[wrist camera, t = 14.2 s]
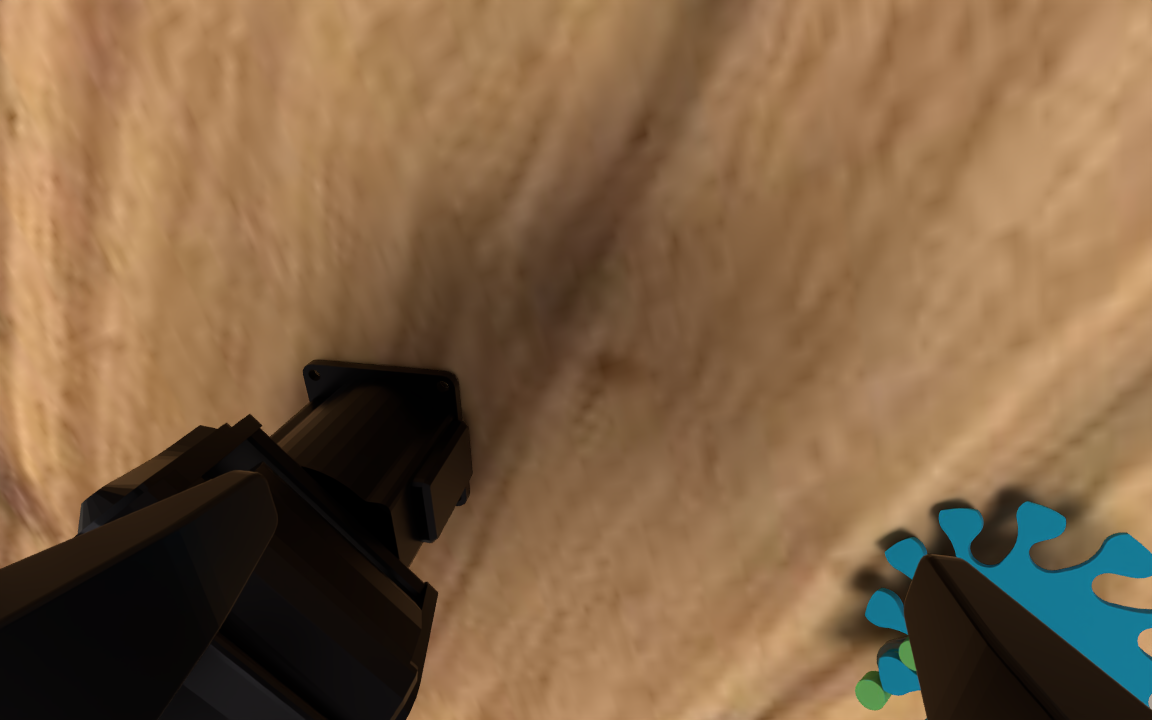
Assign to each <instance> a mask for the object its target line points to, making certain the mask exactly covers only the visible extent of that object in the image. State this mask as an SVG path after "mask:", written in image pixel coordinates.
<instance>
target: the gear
mask: <svg viewBox="0 0 1152 720" xmlns="http://www.w3.org/2000/svg"><path fill="white" fill-rule="evenodd" d="M1016 518H1017V523H1018V537H1017V541H1016V544H1015V546H1014V548H1013V549H1012V550H1011V552H1010V553H1009V554H1008V555H1007V556H1006V557H1005V558H1004V559H1003V560H1002V561H1001V562H1000V563H998V564H996V565H986V564H983V563H981V562H979V561H978V560H976V559H975V558H974V557H973V555H972V553H971V550H970V545H971V542H972V541H973V539H974V538H975V537H976V536H977V535H978V534H979V533H980V532H981V530H982V528H983V523H984V521H983V517H982V515H981V513H980V512H979V511H978V510H976V509H971V508H952V509H946V510H941V511H940V514H939V523H940V526H941V528H942V529H943V530H944V532H945V533H946V534H947V535H948V537H949V539H950V540H951V542H952V544H953V547H954V549H955V553H956V557H958V558H961V559H963V560H965V561H967V562H968V563H969V564H971V565H972V566H973V567H974V568H976V569H977V570H978V571H979V572H981V573H982V574H983V575H984V576H986V577H987V578H988V579H989V580H991V581H992V582H993V583H994V584H996V585H997V586H998V587H999V588H1001V589H1002V590H1003V591H1004V592H1006V593H1007V594H1008V595H1009V596H1011V597H1012V598H1013V599H1014V600H1016V601H1017V602H1018V603H1019V604H1021V605H1022V606H1023V607H1024V608H1026V609H1027V610H1028V611H1029V612H1031V613H1032V614H1033V615H1034V616H1036V617H1037V618H1038V619H1039V620H1041V621H1042V622H1043V623H1044V624H1046V625H1047V626H1048V627H1049V628H1051V629H1052V630H1053V631H1054V632H1056V633H1057V634H1058V635H1059V636H1061V637H1062V638H1063V639H1064V640H1066V641H1067V642H1068V643H1069V644H1071V645H1072V646H1073V647H1074V648H1076V649H1077V650H1078V651H1079V652H1080V653H1082V654H1083V655H1084V656H1085V657H1087V658H1088V659H1089V660H1090V661H1092V662H1093V663H1094V664H1095V665H1097V666H1098V667H1099V668H1100V669H1102V670H1103V671H1104V672H1105V673H1107V674H1108V675H1109V676H1110V677H1112V678H1113V679H1114V680H1115V681H1117V682H1118V683H1119V684H1120V685H1122V686H1123V687H1124V688H1125V689H1127V690H1128V691H1129V692H1130V693H1132V694H1133V695H1134V696H1135V697H1137V698H1138V699H1139V700H1140V701H1142V702H1143V703H1144V704H1145V705H1147V706H1148V707H1149V705H1148V700H1149V697H1150V695H1151V694H1152V657H1151V656H1150V655H1148V654H1147V653H1145V652H1144V651H1143V650H1142V649H1141V648H1140V647H1139V646H1138V642H1137V640H1138V636H1139V634H1140V633H1141V632H1142V631H1144V630H1146V629H1149V628H1152V609H1137V608H1132V607H1126V606H1122V605H1118V604H1114V603H1110V602H1107V601H1104V600H1102V599H1101V598H1099V597H1098V596H1097V595H1096V594H1095V593H1094V592H1093V591H1092V581H1093V579H1094V578H1095V577H1096V576H1098V575H1100V574H1104V573H1113V574H1118V575H1122V576H1127V577H1132V578H1146V577H1150V576H1152V554H1151V553H1150V552H1149V551H1148V550H1147V549H1146V548H1145V547H1144V546H1143V545H1142V544H1141V543H1139V542H1138V541H1137V540H1136V539H1134V538H1133V537H1132V536H1130V535H1129V534H1128V533H1116V534H1112V535H1111V536H1109V537H1107V538H1106V539H1105V540H1104V542H1103V544H1102V546H1101V548H1100V549H1099V550H1098V551H1097V553H1096V554H1095V555H1094V556H1092V557H1091V558H1090V559H1089V560H1087V561H1085V562H1083V563H1081V564H1079V565H1076V566H1072V567H1069V568H1064V569H1059V570H1046V569H1043V568H1041V567H1039V566H1038V565H1036V564H1035V563H1034V562H1033V561H1032V559H1031V557H1030V554H1029V550H1030V548H1031V546H1032V545H1034V544H1035V543H1037V542H1040V541H1045V540H1049V539H1053V538H1056V537H1058V536H1059V535H1061V534H1062V533H1063V532H1064V530H1065V528H1066V518H1065V517H1064V516H1062V515H1061V514H1060V513H1058V512H1056V511H1054V510H1052V509H1050V508H1048V507H1045V506H1043V505H1040V504H1036V503H1033V502H1029V501H1026V502H1024V503H1023V504H1022V505H1021V506H1020V507H1019V509H1018V511H1017V517H1016ZM885 555H886V558H887V560H888V562H889V563H890V564H891V565H892V566H893V567H894V568H895V569H897V570H899V571H901V572H903V573H904V574H905V575H907V576H908V577H909V578H911V579H913V576H914V574H915V571H916V568H917V566H918V563H919V561H920V559H921V558H922V557H923V556H924V555H927V550H926V548H925V546H924V544H923V543H922V542H921V541H920V540H919V539H917V538H916V537H910V538H907V539H905V540H902V541H900V542H898V543H896V544H895V545H893V546H892V547H890V548H889V549H888V550H887V551H885ZM865 616H866V618H867V619H868V620H869V621H870V622H871V623H873V624H875V625H876V626H879V627H885V628H891V629H895V630H898V631H901V632H903V633H905V634H907V635H908V632H907V628H906V623H905V618H904V605H903V603H902V601H901V599H900V598H899V596H898V595H897V594H896V593H894V592H893V591H891V590H889V589H886V588H880V589H879V590H877V591H876V592H875V593H874V594H873V595H872V597H871V599H870V600H869V603H868V605H867V609H866V613H865ZM877 664H878V668H879V672H878V671H870V672H868V673H866V675H865V676H864V677H863V678H862V679H861V680H860V681H859V682H858V684H857V685H856V688H855V692H856V696H857V699H858V700H859V702H860V703H861V704H862V705H863V706H864V707H866V708H868V709H870V710H879V709H881V708H882V707H883V706H884V705H885V703H886V702H887V701H888V699H889V698H890V696H891V694H892V695H898V696H899V695H904V694H906V693H908V692H912V691H917V690H921V689H920V685H919V681H918V676H917V672H916V667H915V663H914V659H913V654H912V650H911V645H910V641H909V637H903V638H898V639H893V640H890V641H888V642H886V643H885V644H884V645H883V646H882V647H881V648H880V650H879V652H878V654H877ZM1149 708H1150V707H1149ZM925 720H927V718H926V719H925Z"/></svg>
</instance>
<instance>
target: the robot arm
mask: <svg viewBox="0 0 1152 720" xmlns="http://www.w3.org/2000/svg"><path fill="white" fill-rule="evenodd" d="M314 370H316V371H317V372H318V373H319V374H320V376H319V375H317V374H316V373H315V371H314ZM303 376H304V380H305V384H306V388H307V393H308V397H309V401H310V403H308V404H307V405H306V406H305V407H304V408H303V409H301V410H300V411H299V412H298V413H297V414H296V415H295V416H293V417H292V418H291V419H290V420H289V421H288V422H286V423H285V424H284V425H283V426H282V427H281V428H279V429H278V430H277V431H276V432H275V433H274V434H273V435H271V436H270V437H269V436H268V435H267V434H266V433H265V432H264V431H263V430H262V429H261V428H260V427H262V425H261V424H260V423H259V422H258V421H257V420H256V419H255V418H254V417H253V416H252V415H251V414H249V415H247V416H246V417H245V418H243V419H242V420H241V421H239V422H238V423H237V424H235V425H234V426H233V427H231V426H230V425H229V424H228V423H225V424H224V425H222V426H221V427H220V428H218V429H216V428H211V427H206V426H201V425H200V426H198V427H197V428H195V429H194V430H193V431H191V432H190V433H188V434H187V435H186V436H184V437H183V438H181V439H180V440H179V441H177V442H176V443H174V444H173V445H172V446H170V447H169V448H167V449H166V450H165V451H163V452H162V453H160V454H159V455H157V456H155V457H154V458H152V459H151V460H149V461H147V462H145V463H144V464H142V465H140V466H138V467H137V468H135V469H133V470H131V471H130V472H128V473H126V474H124V475H123V476H121V477H119V478H117V479H116V480H114V481H112V482H110V483H109V484H107V485H105V486H104V487H102V488H101V489H99V490H98V491H97V492H95V493H94V494H93V495H91V496H90V497H89V498H87V499H86V500H85V501H84V502H83V503H82V504H81V511H80V519H79V527H78V534H77V535H76V536H75V537H74V538H72V539H70V540H67V541H65V542H63V543H60V544H58V545H56V546H53V547H51V548H48V549H46V550H44V551H41V552H39V553H37V554H34V555H32V556H30V557H27V558H25V559H22V560H20V561H18V562H15V563H13V564H11V565H8V566H6V567H4V568H1V569H0V720H406V719H407V717H408V715H409V713H410V711H411V709H412V706H413V704H414V702H415V699H416V697H417V693H418V690H419V686H420V683H421V678H422V672H423V667H424V662H425V657H426V652H427V647H428V642H429V637H430V632H431V627H432V622H433V617H434V612H435V607H436V602H437V597H438V592H437V591H436V590H435V589H434V588H433V587H432V586H431V585H430V584H429V583H428V582H425V583H424V582H423V581H421V580H420V579H419V578H418V577H417V576H416V575H415V574H414V573H413V572H412V571H411V570H410V569H409V566H410V565H411V563H412V561H413V559H414V558H415V556H416V554H417V552H418V550H419V549H420V547H421V545H422V543H423V542H427V543H433V542H434V541H435V540H436V539H438V538H439V536H440V534H441V532H442V530H443V528H444V526H445V525H446V523H447V521H448V519H449V517H450V515H451V513H452V511H453V510H454V508H455V506H461V505H463V504H465V502H466V501H467V499H468V497H469V494H470V490H469V480H470V478H471V476H472V473H473V471H472V461H471V451H470V441H469V431H468V426H467V424H466V423H465V422H464V421H462V412H461V403H460V393H459V383H458V380H457V378H456V377H455V375H454V374H452V373H451V372H448V371H441V370H429V369H417V368H406V367H394V366H382V365H370V364H359V363H347V362H335V361H324V360H313V361H312V362H310V363H309V364H308V365H306V366H305V367H304V369H303ZM440 381H443V382H446V383H447V384H448V386H449V387H448V388H447V387H444V386H443V385H442V384H441V382H440ZM904 618H905V623H906V628H907V632H908V637H909V641H910V645H911V650H912V654H913V659H914V663H915V667H916V672H917V676H918V681H919V685H920V689H921V694H922V698H923V703H924V707H925V711H926V716H927V720H1152V710H1151V709H1150V708H1149V707H1148V706H1147V705H1145V704H1144V703H1143V702H1142V701H1140V700H1139V699H1138V698H1137V697H1135V696H1134V695H1133V694H1132V693H1130V692H1129V691H1128V690H1127V689H1125V688H1124V687H1123V686H1122V685H1120V684H1119V683H1118V682H1117V681H1115V680H1114V679H1113V678H1112V677H1110V676H1109V675H1108V674H1107V673H1105V672H1104V671H1103V670H1102V669H1100V668H1099V667H1098V666H1097V665H1095V664H1094V663H1093V662H1092V661H1090V660H1089V659H1088V658H1087V657H1085V656H1084V655H1083V654H1082V653H1080V652H1079V651H1078V650H1077V649H1076V648H1074V647H1073V646H1072V645H1071V644H1069V643H1068V642H1067V641H1066V640H1064V639H1063V638H1062V637H1061V636H1059V635H1058V634H1057V633H1056V632H1054V631H1053V630H1052V629H1051V628H1049V627H1048V626H1047V625H1046V624H1044V623H1043V622H1042V621H1041V620H1039V619H1038V618H1037V617H1036V616H1034V615H1033V614H1032V613H1031V612H1029V611H1028V610H1027V609H1026V608H1024V607H1023V606H1022V605H1021V604H1019V603H1018V602H1017V601H1016V600H1014V599H1013V598H1012V597H1011V596H1009V595H1008V594H1007V593H1006V592H1004V591H1003V590H1002V589H1001V588H999V587H998V586H997V585H996V584H994V583H993V582H992V581H991V580H989V579H988V578H987V577H986V576H984V575H983V574H982V573H981V572H979V571H978V570H977V569H976V568H974V567H973V566H972V565H971V564H969V563H968V562H967V561H965V560H963V559H961V558H958V557H952V556H944V555H935V554H927V555H924V556H923V557H922V558H921V559H920V561H919V563H918V566H917V568H916V571H915V574H914V576H913V579H912V581H911V584H910V587H909V589H908V592H907V595H906V597H905V601H904Z"/></svg>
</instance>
